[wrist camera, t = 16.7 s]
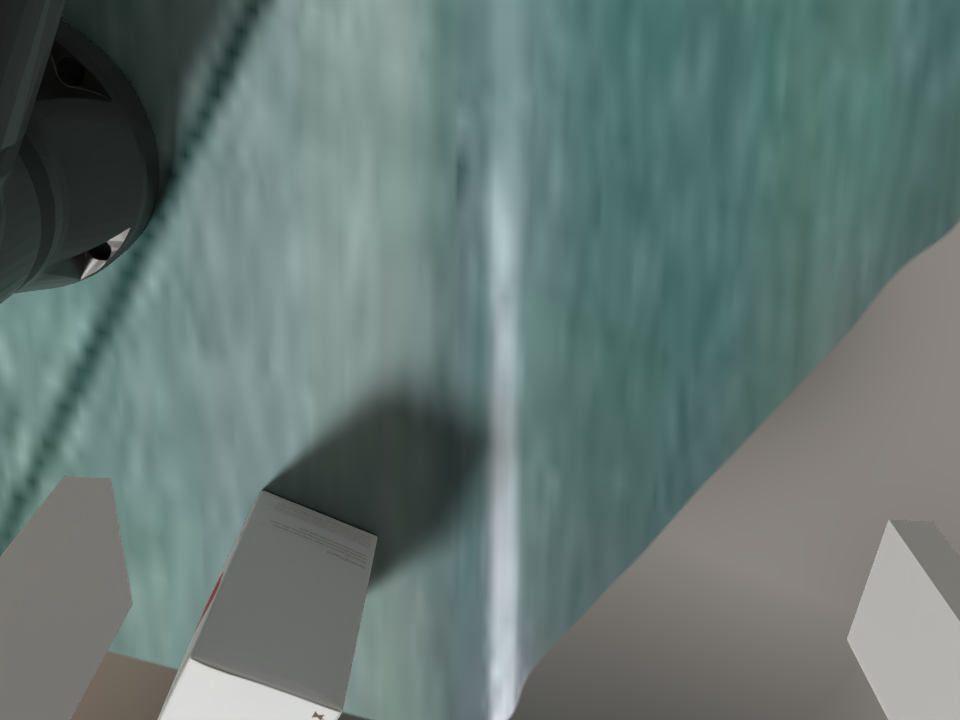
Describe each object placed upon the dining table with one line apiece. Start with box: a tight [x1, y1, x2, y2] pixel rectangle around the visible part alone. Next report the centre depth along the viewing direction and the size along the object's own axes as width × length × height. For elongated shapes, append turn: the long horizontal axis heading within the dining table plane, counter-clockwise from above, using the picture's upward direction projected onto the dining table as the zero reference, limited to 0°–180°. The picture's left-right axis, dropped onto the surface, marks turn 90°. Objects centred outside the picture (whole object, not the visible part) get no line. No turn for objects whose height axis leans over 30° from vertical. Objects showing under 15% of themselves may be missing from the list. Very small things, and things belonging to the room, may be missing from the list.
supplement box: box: [158, 491, 377, 720], centre depth 52 cm, size 9×9×15 cm
